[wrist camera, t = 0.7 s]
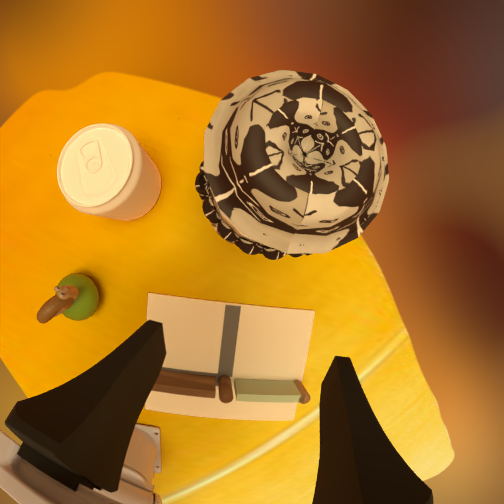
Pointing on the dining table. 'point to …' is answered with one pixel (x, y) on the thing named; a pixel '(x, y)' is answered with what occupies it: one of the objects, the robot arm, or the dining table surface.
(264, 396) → the fence gate
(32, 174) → the dining table surface
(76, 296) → the snail figurine
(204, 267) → the dining table surface
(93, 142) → the beverage can
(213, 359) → the card
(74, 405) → the robot arm
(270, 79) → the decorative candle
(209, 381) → the base
